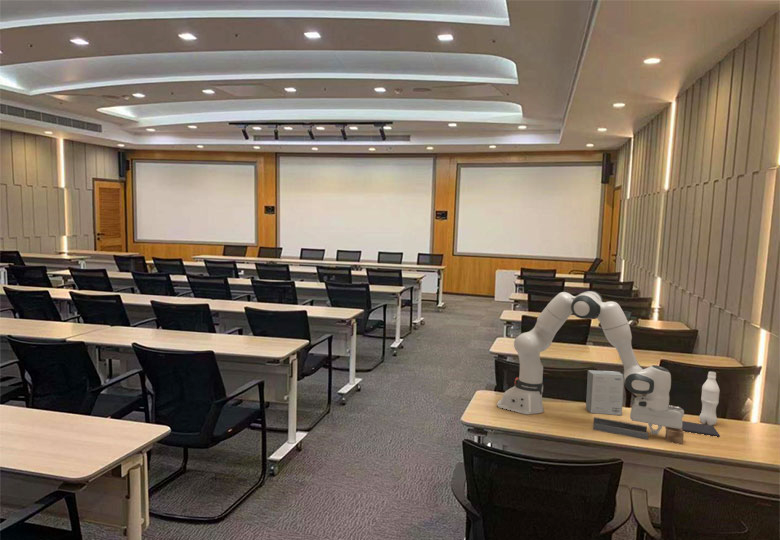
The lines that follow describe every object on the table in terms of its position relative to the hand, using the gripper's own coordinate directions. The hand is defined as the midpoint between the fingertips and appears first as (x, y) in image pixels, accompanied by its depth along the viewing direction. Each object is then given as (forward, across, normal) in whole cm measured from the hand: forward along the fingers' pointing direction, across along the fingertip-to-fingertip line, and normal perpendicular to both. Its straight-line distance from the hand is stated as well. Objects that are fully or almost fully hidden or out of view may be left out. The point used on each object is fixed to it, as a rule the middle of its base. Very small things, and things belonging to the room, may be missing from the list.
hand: (654, 434), depth 219 cm
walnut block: (+1, -8, 0) cm, 8 cm away
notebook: (+2, -16, -21) cm, 26 cm away
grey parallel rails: (+1, +14, 0) cm, 14 cm away
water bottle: (+1, -25, -33) cm, 41 cm away
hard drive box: (+2, +21, -24) cm, 32 cm away
